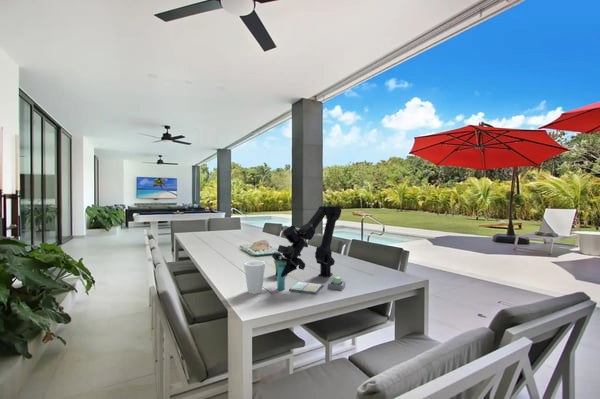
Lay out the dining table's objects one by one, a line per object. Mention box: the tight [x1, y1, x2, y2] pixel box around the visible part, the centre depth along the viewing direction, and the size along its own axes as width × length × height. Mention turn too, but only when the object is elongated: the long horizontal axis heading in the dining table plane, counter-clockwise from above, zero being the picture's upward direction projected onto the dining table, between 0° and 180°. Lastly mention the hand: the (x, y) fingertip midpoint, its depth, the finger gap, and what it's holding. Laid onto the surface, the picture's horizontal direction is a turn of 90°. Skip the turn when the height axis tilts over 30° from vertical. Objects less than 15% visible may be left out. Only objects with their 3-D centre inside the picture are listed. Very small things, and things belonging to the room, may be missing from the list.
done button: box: [331, 276, 342, 285], centre depth 137 cm, size 4×4×3 cm
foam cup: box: [243, 260, 266, 295], centre depth 130 cm, size 10×9×13 cm
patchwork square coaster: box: [288, 281, 324, 295], centre depth 134 cm, size 13×13×1 cm
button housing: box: [327, 279, 346, 291], centre depth 137 cm, size 7×7×2 cm
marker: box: [276, 261, 286, 291], centre depth 133 cm, size 4×4×13 cm
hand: (278, 275), depth 132 cm, fingers closed on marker, 3 cm apart
